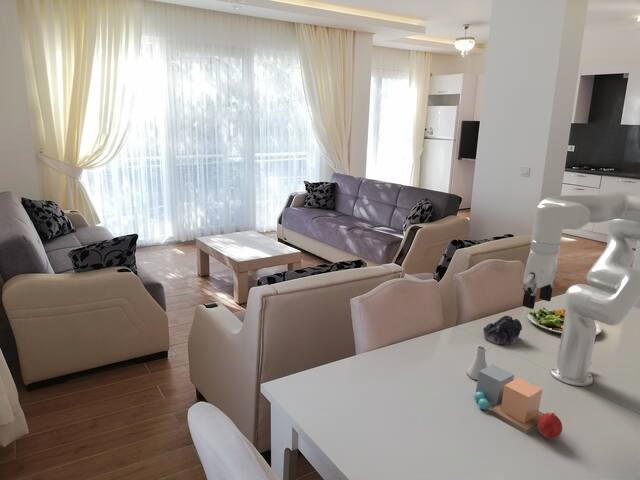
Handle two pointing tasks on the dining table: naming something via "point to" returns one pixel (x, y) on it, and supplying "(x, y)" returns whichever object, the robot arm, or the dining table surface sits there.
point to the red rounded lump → (550, 425)
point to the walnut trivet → (514, 422)
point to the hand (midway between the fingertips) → (536, 303)
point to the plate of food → (551, 319)
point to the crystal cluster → (503, 331)
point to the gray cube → (493, 383)
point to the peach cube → (521, 400)
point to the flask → (477, 363)
